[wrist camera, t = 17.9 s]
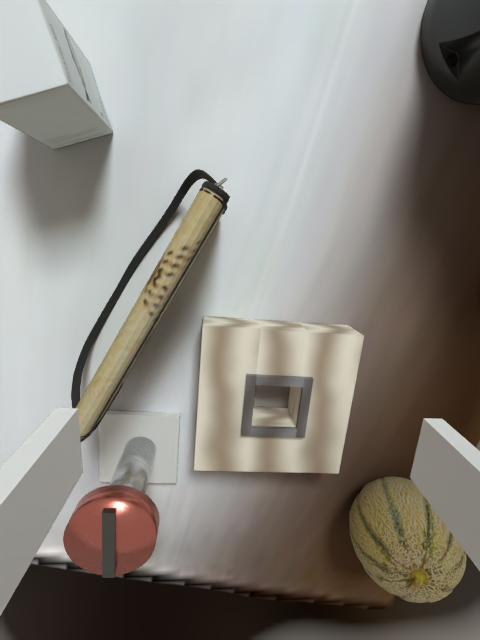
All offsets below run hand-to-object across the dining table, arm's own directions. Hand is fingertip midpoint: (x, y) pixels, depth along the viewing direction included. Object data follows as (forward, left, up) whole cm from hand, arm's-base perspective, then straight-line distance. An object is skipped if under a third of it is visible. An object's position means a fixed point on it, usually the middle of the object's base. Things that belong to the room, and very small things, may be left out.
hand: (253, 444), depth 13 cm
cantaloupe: (-27, +31, -33) cm, 53 cm away
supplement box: (+19, -20, -33) cm, 42 cm away
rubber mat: (+11, +23, -32) cm, 41 cm away
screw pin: (+10, +23, -31) cm, 40 cm away
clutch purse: (+10, 0, -33) cm, 34 cm away
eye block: (-7, +13, -32) cm, 36 cm away
